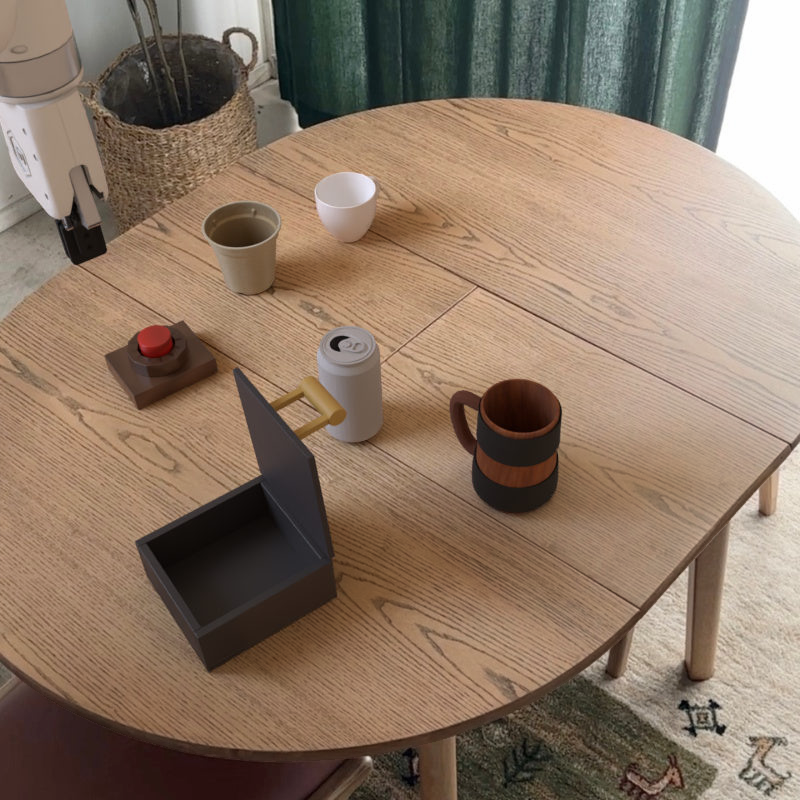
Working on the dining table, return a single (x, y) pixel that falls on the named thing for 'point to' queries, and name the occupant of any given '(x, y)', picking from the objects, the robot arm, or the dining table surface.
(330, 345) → the beverage can
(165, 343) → the alarm button
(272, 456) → the box lid
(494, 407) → the mug
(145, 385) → the block
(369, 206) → the cup
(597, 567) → the dining table surface
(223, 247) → the flower pot
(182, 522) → the box case
